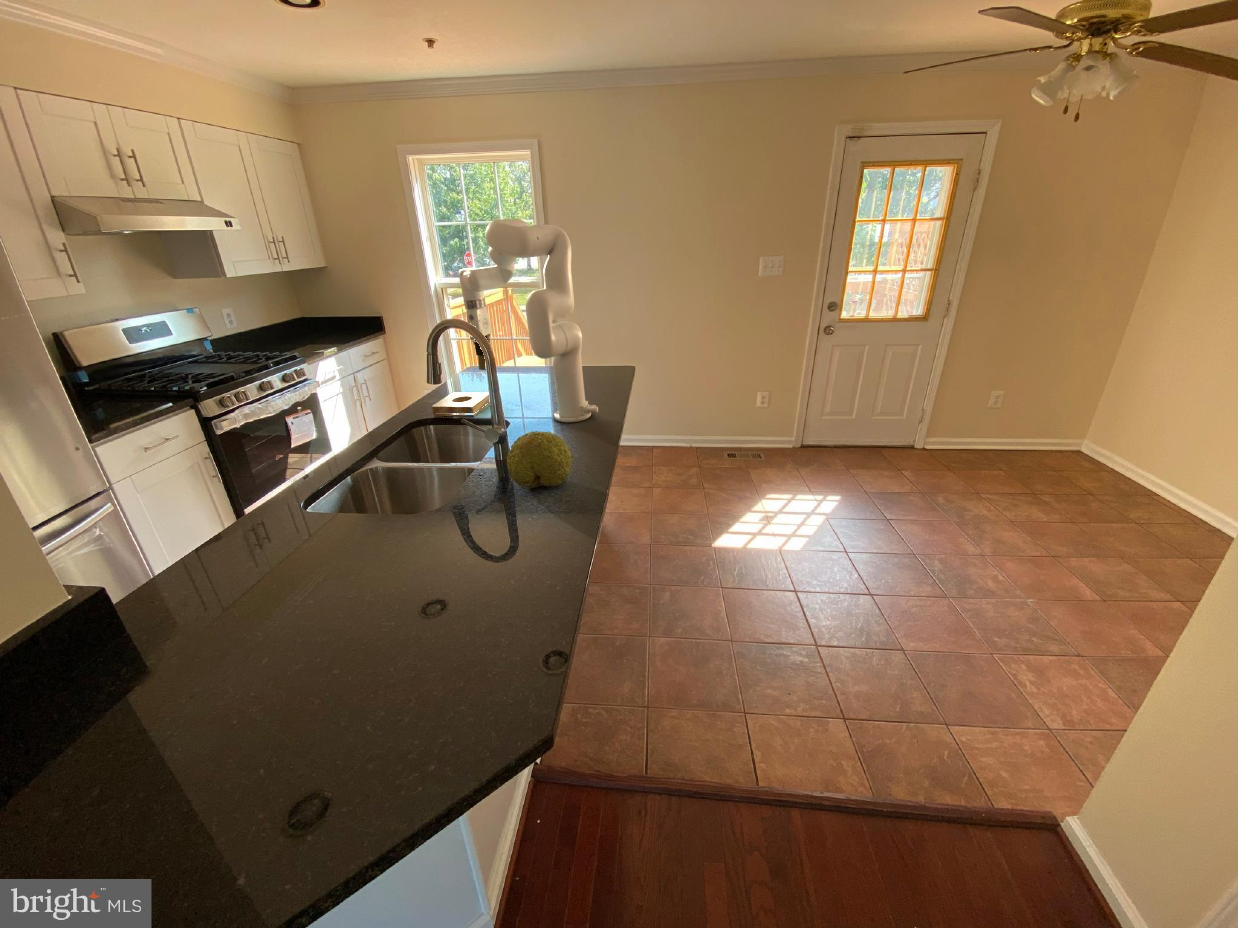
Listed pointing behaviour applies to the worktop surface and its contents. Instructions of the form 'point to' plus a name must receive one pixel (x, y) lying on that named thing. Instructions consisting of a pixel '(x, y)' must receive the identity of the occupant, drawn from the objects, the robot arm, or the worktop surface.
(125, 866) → the worktop surface
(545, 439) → the fruit
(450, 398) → the stand
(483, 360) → the cork
